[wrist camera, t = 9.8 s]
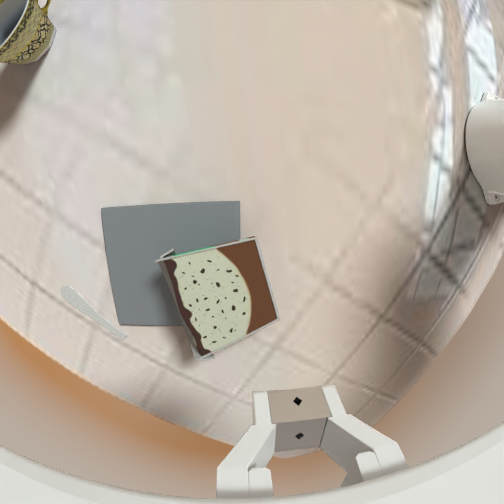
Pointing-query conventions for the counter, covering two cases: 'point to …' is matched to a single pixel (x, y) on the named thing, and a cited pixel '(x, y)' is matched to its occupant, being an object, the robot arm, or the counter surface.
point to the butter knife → (88, 309)
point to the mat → (159, 251)
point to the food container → (220, 294)
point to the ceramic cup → (24, 31)
